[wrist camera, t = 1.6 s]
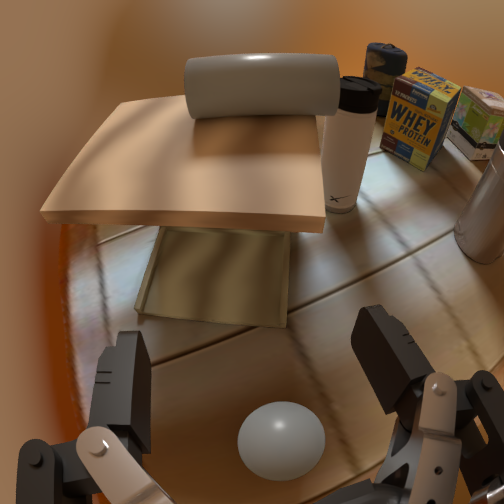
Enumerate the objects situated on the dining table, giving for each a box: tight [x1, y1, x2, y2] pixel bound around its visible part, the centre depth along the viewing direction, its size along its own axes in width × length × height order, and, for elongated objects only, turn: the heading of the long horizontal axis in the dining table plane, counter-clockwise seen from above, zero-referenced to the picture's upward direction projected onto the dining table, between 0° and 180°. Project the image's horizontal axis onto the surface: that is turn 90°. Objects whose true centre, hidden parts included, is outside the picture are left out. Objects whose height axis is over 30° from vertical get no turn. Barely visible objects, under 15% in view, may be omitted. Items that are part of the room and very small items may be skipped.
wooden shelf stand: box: [40, 95, 326, 328], centre depth 31 cm, size 21×17×20 cm
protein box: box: [380, 67, 461, 172], centre depth 48 cm, size 10×15×16 cm
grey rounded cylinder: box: [238, 402, 325, 481], centre depth 21 cm, size 6×6×12 cm
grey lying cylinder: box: [184, 53, 340, 119], centre depth 23 cm, size 6×6×12 cm
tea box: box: [446, 86, 504, 160], centre depth 50 cm, size 15×10×15 cm, turn 103°
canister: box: [363, 43, 407, 116], centre depth 57 cm, size 10×10×18 cm
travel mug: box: [321, 76, 382, 213], centre depth 37 cm, size 6×7×20 cm
